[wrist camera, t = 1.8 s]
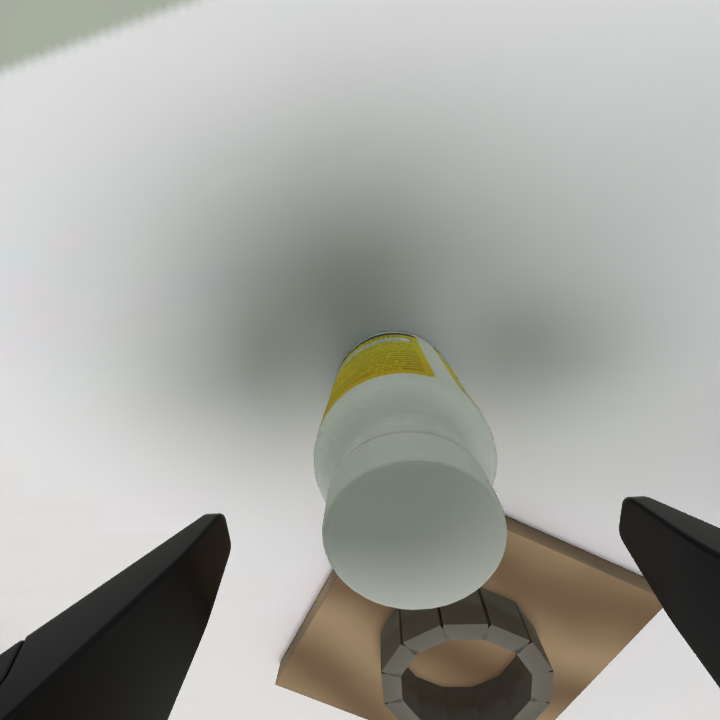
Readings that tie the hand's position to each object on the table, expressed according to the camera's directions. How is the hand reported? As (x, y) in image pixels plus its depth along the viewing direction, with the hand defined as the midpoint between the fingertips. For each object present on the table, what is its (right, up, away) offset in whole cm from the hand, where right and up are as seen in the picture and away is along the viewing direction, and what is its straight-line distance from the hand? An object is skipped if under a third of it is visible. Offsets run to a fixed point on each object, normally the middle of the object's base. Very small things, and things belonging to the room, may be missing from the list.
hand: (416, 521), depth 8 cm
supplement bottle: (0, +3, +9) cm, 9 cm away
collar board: (+4, -12, +13) cm, 18 cm away
